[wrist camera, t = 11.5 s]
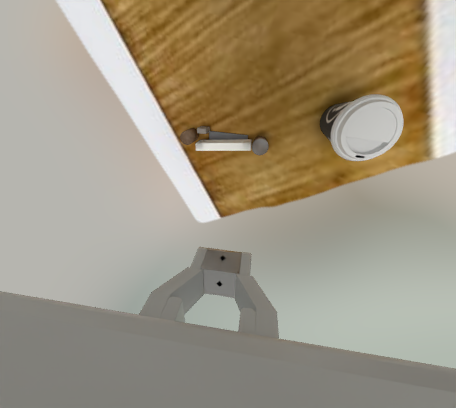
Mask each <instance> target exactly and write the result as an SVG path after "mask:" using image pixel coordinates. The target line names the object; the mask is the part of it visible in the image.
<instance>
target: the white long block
mask: <svg viewBox="0 0 456 408" xmlns="http://www.w3.org/2000/svg"><path fill="white" fill-rule="evenodd" d="M196 151H251V139H236V140H199V141H198V142H197V143H196Z"/></svg>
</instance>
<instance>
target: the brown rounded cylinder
mask: <svg viewBox="0 0 456 408" xmlns="http://www.w3.org/2000/svg"><path fill="white" fill-rule="evenodd" d="M209 131H210V127H206V126H200V127H198V128H197V130H196V129H194V128H191V129H189V130H186V131H184V132H182V133H181V136H180V139H181V141H182V143H184V144H186V145H189V144H191V143H192V142H194V141H195V140H197V139H198V137H199V133H201V134H207V133H208V132H209Z"/></svg>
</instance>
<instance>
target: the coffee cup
mask: <svg viewBox="0 0 456 408" xmlns="http://www.w3.org/2000/svg"><path fill="white" fill-rule="evenodd" d="M320 128H321V131H322V132H323V134H324V135H325V136H326V137H327V138H328V139H329V140H330V141H331V144H332V147H333V149H334V151H335V152H336V153H337V154H338V155H339V156H341V157H342V158H344V159H347V160H351V161H364V160H369V159H372V158H374V157H377V156H379V155H381V154H383V153H385V152H386V151H387V150H389V149H390V148H391V147H392V146H393V145H394V144H395V143H396V141H397V140H398V138H399V137H400V135H401V132H402V129H403V115H402V111H401V109H400V107H399V105H398V104H397V103H396V102H395V101H394V100H392V99H391V98H389V97H387V96H384V95H379V94H373V95H367V96H363V97H360V98H358V99H356V100H354V101H352V102H346V103H341V104H336V105H333V106H331V107H329V108H328V109H327V110H326V111H325V112H324V113H323V115H322V117H321V120H320Z"/></svg>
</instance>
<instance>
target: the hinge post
mask: <svg viewBox="0 0 456 408" xmlns="http://www.w3.org/2000/svg"><path fill="white" fill-rule="evenodd" d="M252 150H253V152H254V153H255V154H257V155H263V154H265V153H266V152H267V150H268V142H267V141H266V139H265V137H263V136H258V137H256V138H255V140H254V142H253V144H252Z"/></svg>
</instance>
